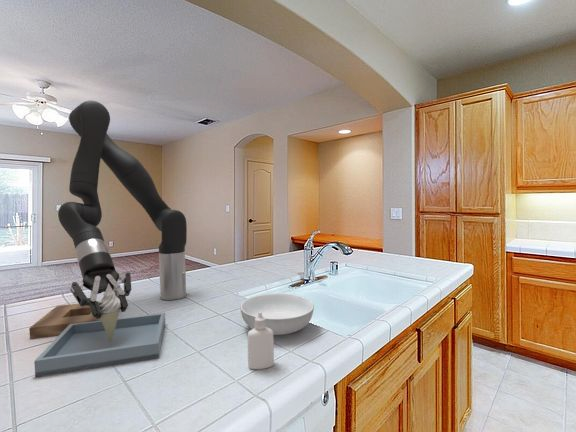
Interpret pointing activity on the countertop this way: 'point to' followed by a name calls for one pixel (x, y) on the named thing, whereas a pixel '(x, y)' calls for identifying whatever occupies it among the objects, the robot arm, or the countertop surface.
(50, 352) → the slate blue tray
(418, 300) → the countertop surface
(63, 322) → the walnut board
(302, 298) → the serving bowl
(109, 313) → the ice cream cone
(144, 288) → the countertop surface
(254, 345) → the eye dropper bottle
